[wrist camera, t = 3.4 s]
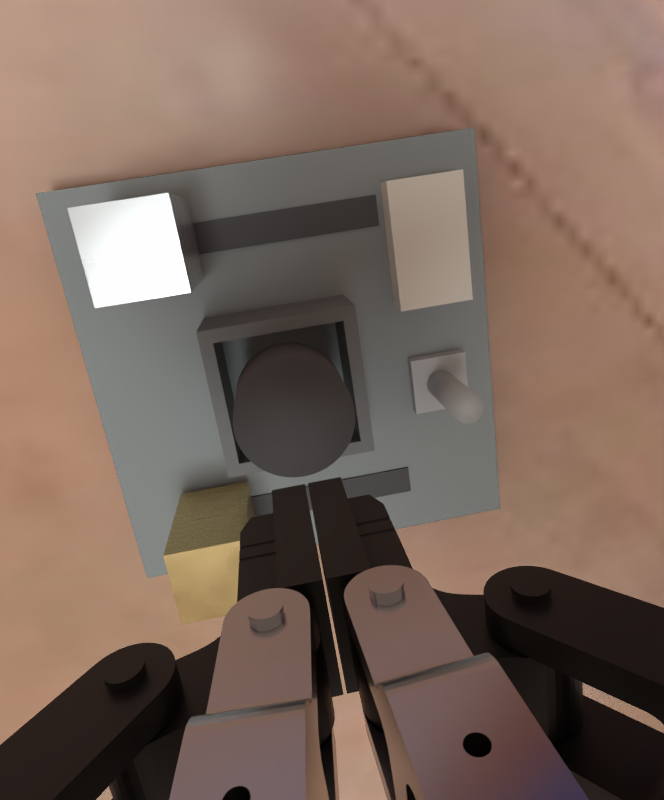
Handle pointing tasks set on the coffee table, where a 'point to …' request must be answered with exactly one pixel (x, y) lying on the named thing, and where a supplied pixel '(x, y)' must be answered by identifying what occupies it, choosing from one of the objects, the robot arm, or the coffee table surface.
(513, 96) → the coffee table surface
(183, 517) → the gold rectangular block
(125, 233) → the light grey block
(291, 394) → the black button
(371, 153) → the control board
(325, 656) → the robot arm
